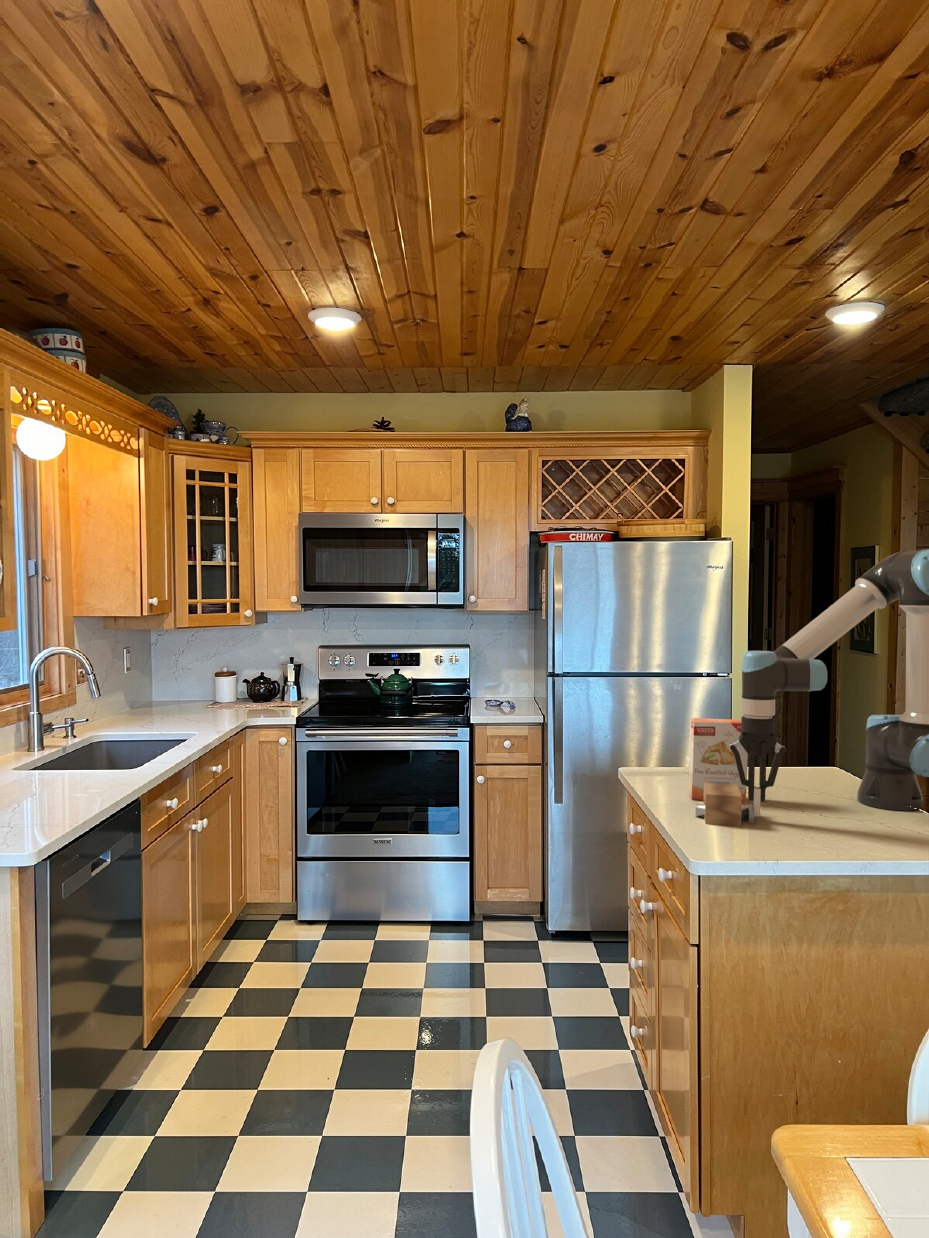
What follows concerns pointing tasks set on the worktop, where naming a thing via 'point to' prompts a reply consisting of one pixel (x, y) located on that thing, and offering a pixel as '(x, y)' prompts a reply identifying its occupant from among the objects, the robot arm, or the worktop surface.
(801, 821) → the worktop surface
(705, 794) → the block
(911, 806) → the robot arm
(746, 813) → the pin
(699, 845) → the worktop surface
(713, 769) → the cracker box
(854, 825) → the worktop surface
